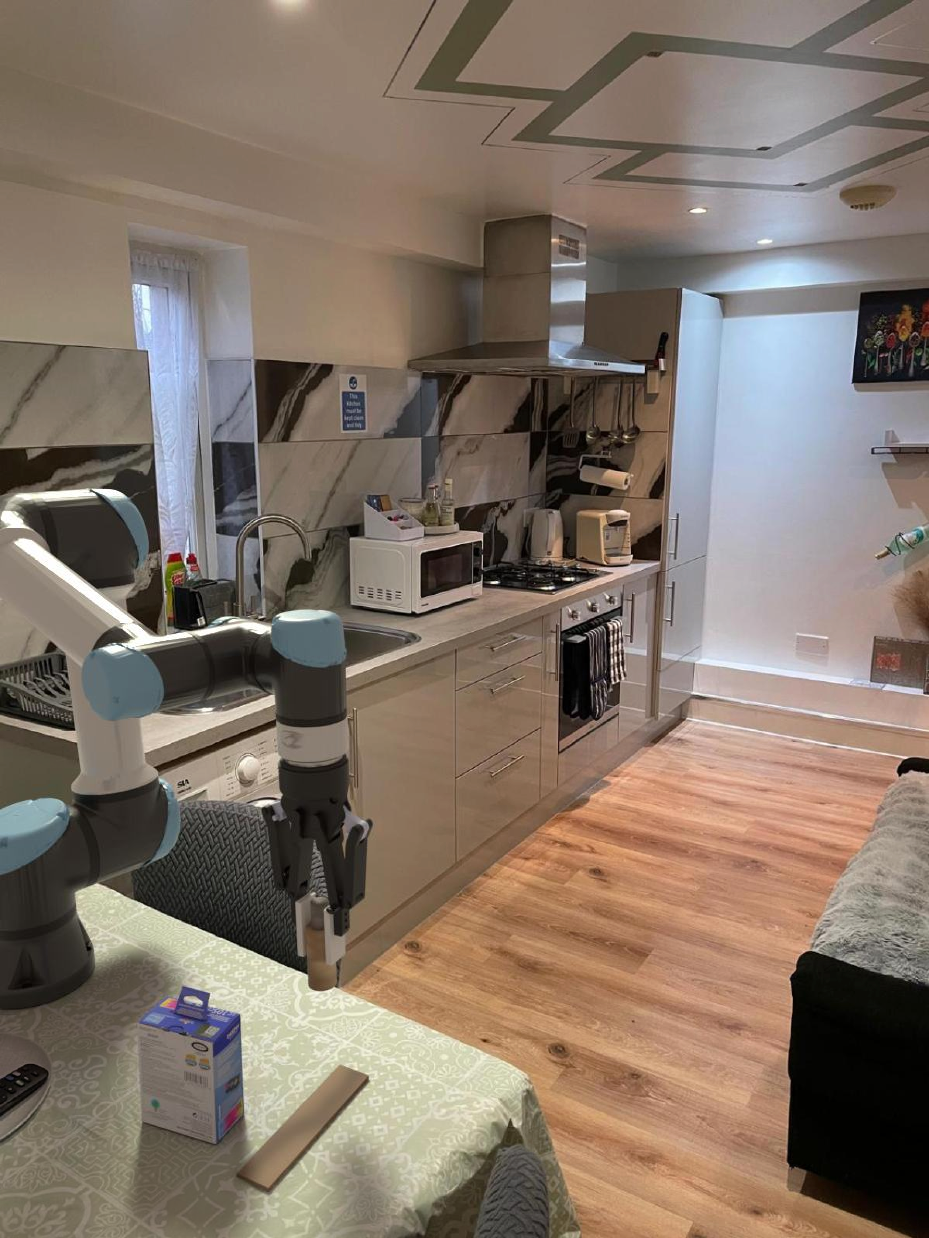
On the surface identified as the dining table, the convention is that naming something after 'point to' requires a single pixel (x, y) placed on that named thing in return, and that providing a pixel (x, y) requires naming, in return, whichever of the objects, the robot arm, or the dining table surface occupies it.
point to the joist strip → (302, 1128)
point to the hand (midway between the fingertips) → (321, 954)
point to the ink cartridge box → (191, 1067)
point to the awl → (318, 949)
